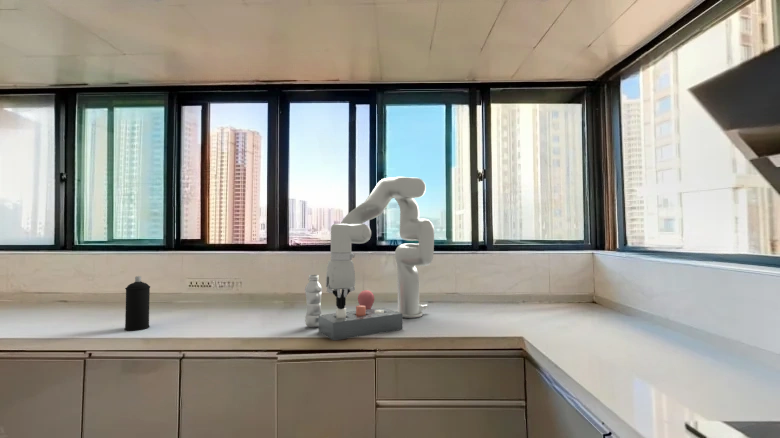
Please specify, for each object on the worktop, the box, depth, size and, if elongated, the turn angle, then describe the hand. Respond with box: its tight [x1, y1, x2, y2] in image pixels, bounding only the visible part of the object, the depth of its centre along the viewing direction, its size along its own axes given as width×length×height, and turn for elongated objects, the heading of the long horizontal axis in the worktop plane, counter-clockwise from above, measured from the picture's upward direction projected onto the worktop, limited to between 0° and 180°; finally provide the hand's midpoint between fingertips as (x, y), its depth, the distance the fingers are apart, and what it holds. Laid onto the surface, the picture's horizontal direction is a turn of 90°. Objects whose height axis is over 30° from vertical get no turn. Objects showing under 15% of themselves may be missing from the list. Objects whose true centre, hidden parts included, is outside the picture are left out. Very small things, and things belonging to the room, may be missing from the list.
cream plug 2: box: [375, 310, 384, 314], centre depth 148 cm, size 4×4×6 cm
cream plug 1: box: [335, 307, 347, 319], centre depth 140 cm, size 4×4×6 cm
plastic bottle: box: [304, 274, 323, 328], centre depth 150 cm, size 6×7×20 cm
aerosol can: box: [124, 275, 151, 332], centre depth 149 cm, size 8×8×20 cm
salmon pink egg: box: [355, 305, 366, 316], centre depth 144 cm, size 4×4×6 cm
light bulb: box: [357, 289, 375, 310], centre depth 164 cm, size 7×7×12 cm
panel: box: [318, 307, 404, 341], centre depth 144 cm, size 28×14×6 cm, turn 121°
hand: (340, 308), depth 140 cm, fingers closed
